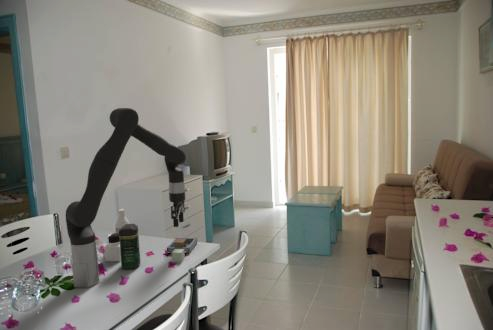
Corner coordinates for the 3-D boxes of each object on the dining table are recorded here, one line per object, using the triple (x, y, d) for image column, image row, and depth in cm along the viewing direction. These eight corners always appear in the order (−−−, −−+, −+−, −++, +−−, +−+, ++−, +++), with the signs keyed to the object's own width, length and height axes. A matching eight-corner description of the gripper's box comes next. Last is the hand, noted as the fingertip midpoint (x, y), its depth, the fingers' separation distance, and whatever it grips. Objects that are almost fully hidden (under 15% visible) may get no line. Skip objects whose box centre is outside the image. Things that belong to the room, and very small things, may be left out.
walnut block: (183, 251, 191) (183, 242, 190) (174, 251, 191) (174, 242, 191) (186, 248, 195) (185, 239, 195) (177, 248, 196) (177, 239, 195)
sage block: (182, 262, 179) (181, 252, 178) (172, 262, 179) (171, 252, 179) (184, 258, 183) (184, 249, 183) (175, 258, 184) (174, 249, 183)
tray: (189, 254, 188) (189, 248, 188) (166, 254, 190) (166, 248, 189) (197, 243, 203) (196, 237, 203) (176, 243, 204) (175, 237, 204)
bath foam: (123, 245, 205) (120, 207, 202) (134, 246, 202) (131, 208, 200) (114, 250, 198) (111, 211, 196) (126, 251, 196) (122, 211, 193)
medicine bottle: (126, 256, 189) (124, 231, 188) (120, 261, 182) (118, 236, 181) (112, 256, 190) (109, 231, 188) (105, 261, 183) (103, 236, 181)
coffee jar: (138, 269, 173) (135, 227, 170) (120, 270, 172) (116, 229, 169) (142, 261, 182) (139, 221, 180) (124, 262, 181) (121, 222, 179)
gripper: (180, 194, 182) (182, 228, 184) (188, 188, 196) (190, 220, 198) (164, 194, 183) (166, 228, 185) (173, 188, 197) (175, 220, 199)
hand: (178, 224), depth 192 cm, fingers open, 8 cm apart
